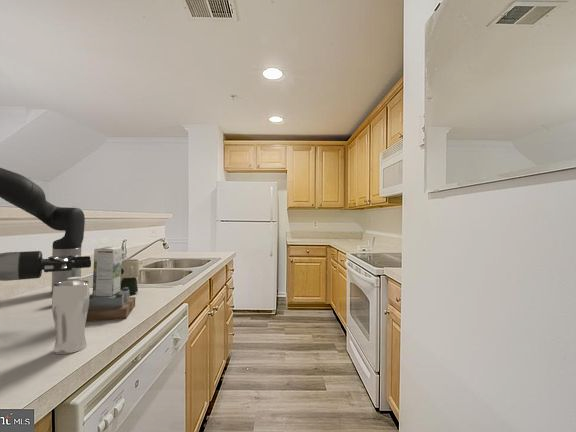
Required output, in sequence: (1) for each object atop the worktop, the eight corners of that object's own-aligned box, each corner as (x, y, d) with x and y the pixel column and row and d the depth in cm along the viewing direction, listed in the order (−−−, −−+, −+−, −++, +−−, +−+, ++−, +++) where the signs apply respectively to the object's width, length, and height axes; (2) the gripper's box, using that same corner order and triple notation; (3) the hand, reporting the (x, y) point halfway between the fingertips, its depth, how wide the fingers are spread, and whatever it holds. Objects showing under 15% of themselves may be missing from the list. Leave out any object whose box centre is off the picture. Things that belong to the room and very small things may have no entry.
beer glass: (47, 358, 63) (48, 287, 63) (55, 345, 69) (56, 281, 69) (86, 351, 66) (87, 284, 66) (90, 340, 72) (91, 278, 72)
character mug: (116, 292, 118) (117, 259, 118) (136, 289, 122) (137, 258, 122) (120, 298, 109) (120, 263, 109) (141, 295, 113) (142, 261, 113)
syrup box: (102, 292, 94) (102, 246, 94) (121, 291, 95) (122, 246, 95) (92, 296, 89) (93, 248, 89) (112, 296, 89) (113, 248, 89)
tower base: (91, 308, 96) (91, 287, 96) (135, 305, 100) (135, 285, 100) (74, 322, 84) (75, 298, 84) (126, 318, 88) (126, 295, 88)
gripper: (14, 254, 74) (91, 251, 84) (23, 249, 86) (90, 246, 95) (13, 284, 74) (91, 278, 84) (22, 275, 86) (89, 270, 95)
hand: (90, 261), depth 89 cm, fingers open, 8 cm apart
